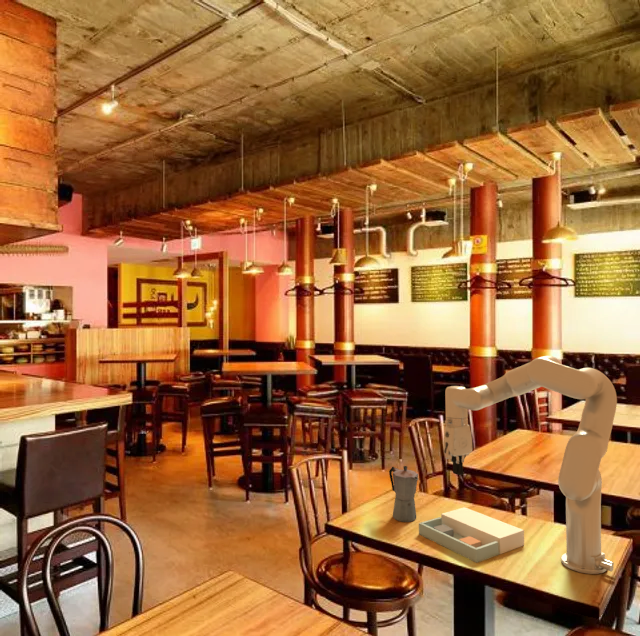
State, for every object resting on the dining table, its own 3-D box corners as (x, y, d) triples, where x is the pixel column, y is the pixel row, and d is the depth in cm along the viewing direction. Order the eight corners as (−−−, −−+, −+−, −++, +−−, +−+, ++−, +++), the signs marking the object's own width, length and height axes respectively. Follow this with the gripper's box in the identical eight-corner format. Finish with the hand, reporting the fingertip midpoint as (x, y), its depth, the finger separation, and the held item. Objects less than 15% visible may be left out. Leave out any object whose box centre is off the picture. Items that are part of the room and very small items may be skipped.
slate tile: (442, 532, 180) (442, 539, 180) (453, 529, 182) (453, 536, 182) (432, 527, 185) (432, 534, 185) (444, 524, 187) (444, 531, 187)
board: (524, 545, 176) (524, 530, 176) (500, 554, 170) (499, 538, 170) (464, 520, 198) (464, 507, 198) (441, 527, 192) (441, 513, 192)
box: (499, 554, 169) (499, 541, 169) (476, 562, 164) (476, 549, 164) (440, 527, 192) (440, 516, 192) (418, 534, 186) (418, 523, 186)
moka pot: (410, 526, 193) (409, 472, 193) (380, 515, 205) (379, 463, 205) (427, 520, 199) (426, 467, 199) (396, 509, 211) (396, 459, 211)
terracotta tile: (470, 544, 170) (470, 552, 170) (481, 541, 172) (481, 549, 172) (458, 539, 174) (458, 547, 174) (469, 536, 177) (469, 543, 177)
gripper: (449, 425, 179) (450, 480, 179) (479, 420, 187) (480, 472, 187) (433, 422, 186) (434, 474, 185) (463, 417, 194) (464, 468, 193)
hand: (457, 473), depth 186 cm, fingers closed
